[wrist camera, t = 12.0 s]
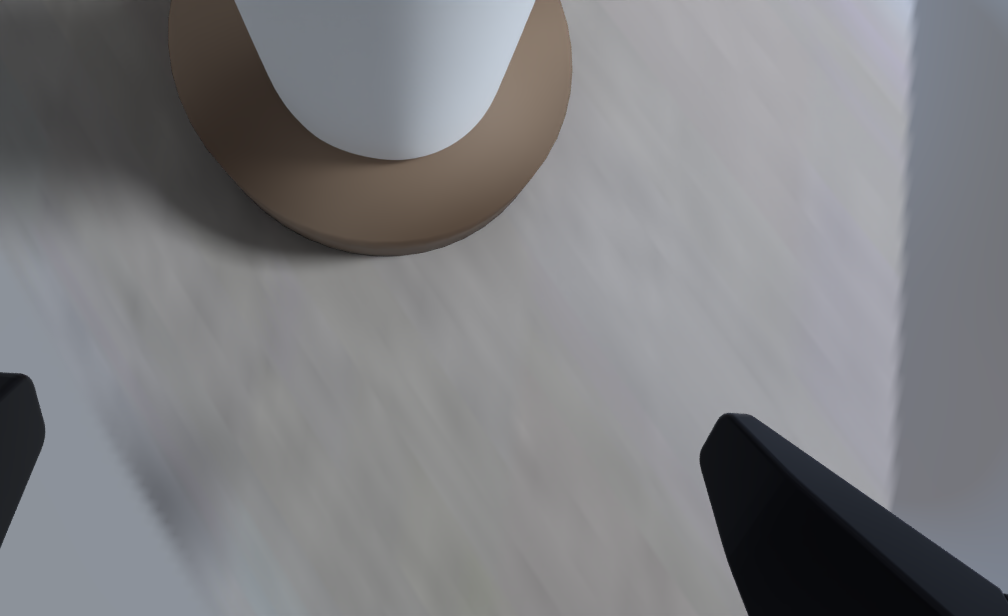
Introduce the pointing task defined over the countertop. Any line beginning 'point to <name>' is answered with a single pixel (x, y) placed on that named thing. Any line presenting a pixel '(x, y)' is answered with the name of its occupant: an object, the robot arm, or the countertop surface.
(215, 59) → the walnut stand
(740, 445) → the robot arm
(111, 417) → the countertop surface
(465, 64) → the can
